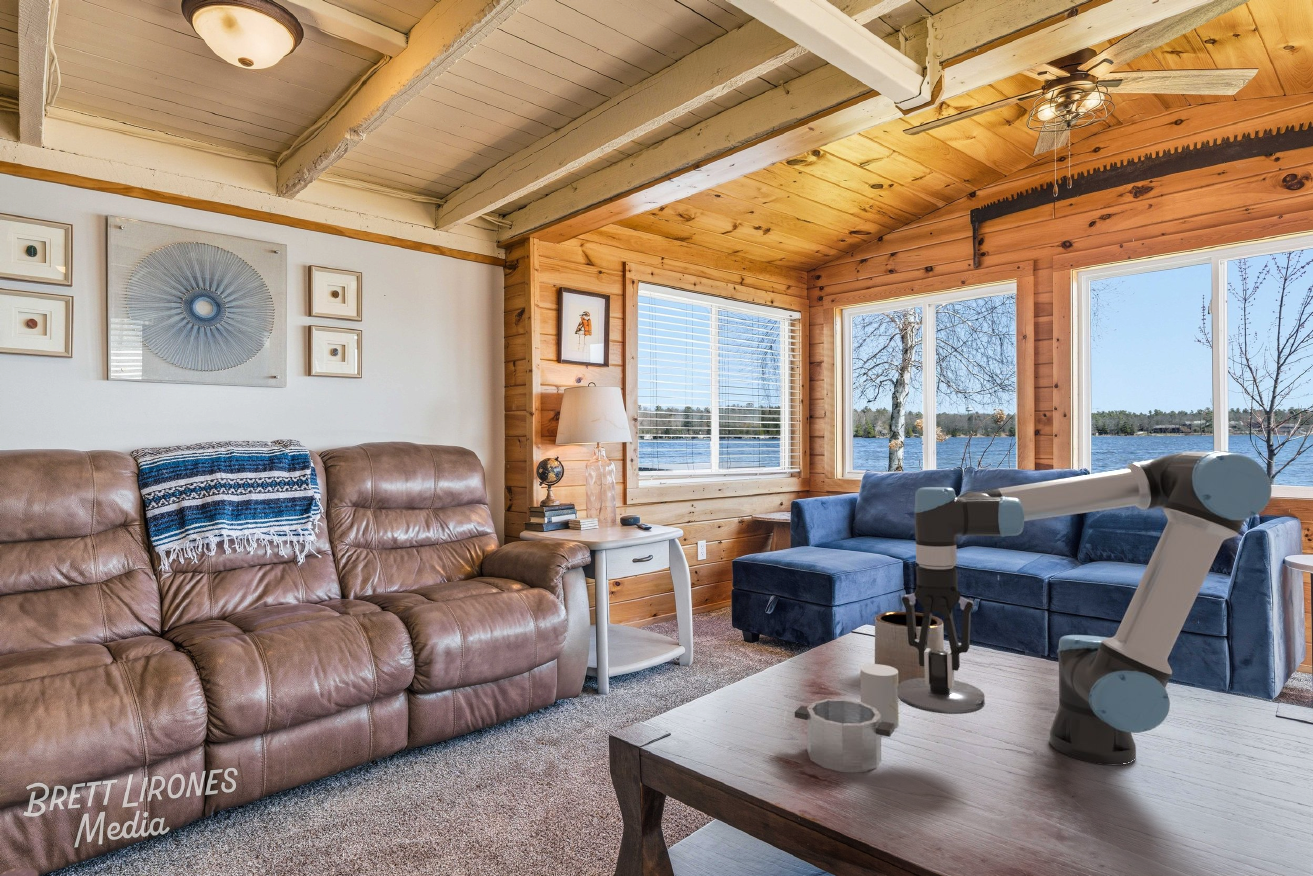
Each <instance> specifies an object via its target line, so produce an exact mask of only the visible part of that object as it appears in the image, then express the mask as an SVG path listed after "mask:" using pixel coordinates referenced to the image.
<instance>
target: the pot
mask: <svg viewBox="0 0 1313 876" xmlns="http://www.w3.org/2000/svg"><path fill="white" fill-rule="evenodd" d="M794 718H795V719H801V720H806V738H807V739H806V741H807V742H806V744H807V745H806V748H807V751H806V752H807V754H808V757H809V759H810V761H811V762H813V763H815V764H817V765H818V766H820V767H822V768H824V769H829V770H832V771H836V772H840V773H865V772H869V771H871V770H874V769H877V768H878V766H879V765H880V763H881V762H882V736H883V737H887V738H891V736H892V734H893V733H894V731H895V724H893V723H888V722H883V721H881V715H880V713H879V712H878V711H877V709H876V708H874V707H871V706H869V705H867V704H865V703H862V702H861V701H856V700H851V699H845V698H841V699H840V698H825V699H822V700H817V701H813V702H812V703H810V705H809V706H807V705H806V706H805V705H800V706H799V707H798V708H797V709H796V710H795V711H794Z"/></svg>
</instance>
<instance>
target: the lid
mask: <svg viewBox="0 0 1313 876" xmlns="http://www.w3.org/2000/svg"><path fill="white" fill-rule="evenodd" d="M948 652H949V651H948ZM948 652H947V651H945V650H944V651H940V650H932V651H930V652H929V667H930V684H929V685H925V678H914V679H909V680H905V681H903V682H901V683H899V684H898V686H897V696H898V700H899V701H900V702H902V703H903V704H905V705H907V706H908V707H911V708H914V709H918V710H921V711H924V712H931V713H937V714H945V715H963V714H971V713H974V712H978V711H980V710H982V709H983V708H984V707H985V705H986V701H985V697H986V696H985V694H984V692H983V691H982V690H981V689H979V687H976V686H974V685H972V684H969V683H966V682H962V681H959V680H955V679H954V686H953V688H952V689H951V688H948V666H947V654H948Z"/></svg>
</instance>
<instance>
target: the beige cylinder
mask: <svg viewBox="0 0 1313 876" xmlns="http://www.w3.org/2000/svg"><path fill="white" fill-rule="evenodd" d="M897 686H898V670H897V669H895V668H893V667H891V666H887V665H880V664H875V663H872V664H871V663H870V664H864V665H862V666H861V667H860V702H862V703H865V704H867V705H869V706H871V707H874V708H876V709H877V711H878V712H879V713H880V715H881V721H883V722H888V723H893V724H895V729H897V728H898V727H899V724H900V723H899V720H900V719H899V717H900V716H899V713H900V712H899V698H898V696H897Z"/></svg>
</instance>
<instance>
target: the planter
mask: <svg viewBox="0 0 1313 876" xmlns="http://www.w3.org/2000/svg"><path fill="white" fill-rule="evenodd" d="M915 620H916V632H917V640H919V638H920V632H921V626H922V620H923V613H920V612H915ZM944 639H945V638H944V620H942V619H941V618H939V617H938V616H934V615H932V617H931V623H930V629H929V635H928V641H927V646H926V648H930V649H931V651H932V650H940V651H945V650H944V649H945V648H944V647H945V644H944V643H945V641H944ZM874 664H880V665H887V666H891V667H893V668H895V669H897V670H898V684H899V683H901V682H903V681H905V680H909V679H914V678H925V667H924V666H920V665H919V651H918V649H917V648H916V647H914V646H910V645H909V642H908V631H907V619H906V611H887V612H880V613H879V614H876V615H875V616H874Z"/></svg>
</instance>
